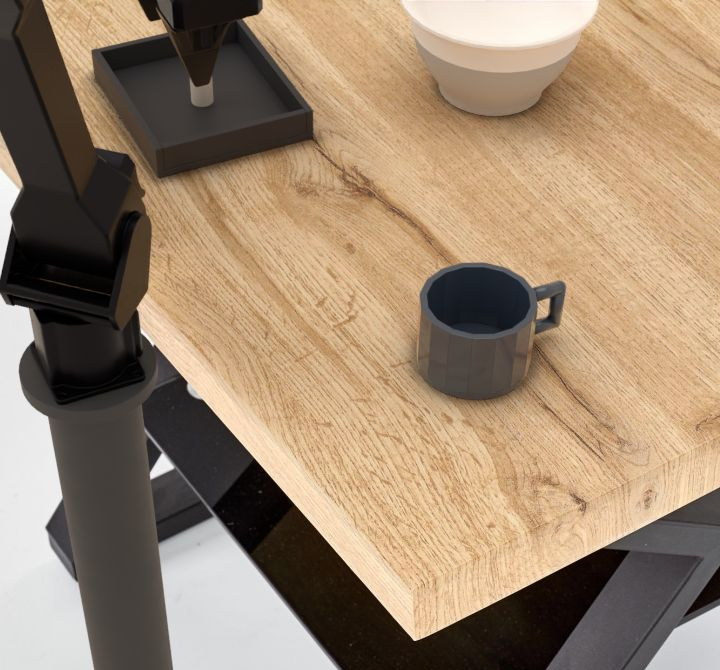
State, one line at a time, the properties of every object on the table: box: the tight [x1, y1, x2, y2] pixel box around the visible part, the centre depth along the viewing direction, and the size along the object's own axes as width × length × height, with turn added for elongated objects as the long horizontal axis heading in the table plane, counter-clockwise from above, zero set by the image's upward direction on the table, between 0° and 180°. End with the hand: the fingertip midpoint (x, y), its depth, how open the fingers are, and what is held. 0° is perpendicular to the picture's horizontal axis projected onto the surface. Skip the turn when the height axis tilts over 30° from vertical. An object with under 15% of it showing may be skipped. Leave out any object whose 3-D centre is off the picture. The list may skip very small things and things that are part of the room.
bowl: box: [399, 0, 600, 117], centre depth 128 cm, size 16×16×8 cm
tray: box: [90, 19, 314, 179], centre depth 128 cm, size 13×15×3 cm
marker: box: [190, 77, 213, 107], centre depth 124 cm, size 2×2×11 cm
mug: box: [415, 261, 567, 401], centre depth 107 cm, size 11×8×6 cm
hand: (178, 51), depth 112 cm, fingers open, 9 cm apart
